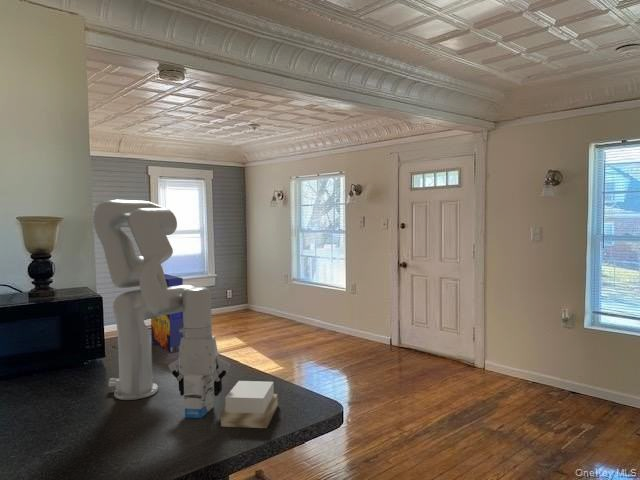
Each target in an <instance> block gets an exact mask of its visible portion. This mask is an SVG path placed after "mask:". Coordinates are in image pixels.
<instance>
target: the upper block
mask: <svg viewBox="0 0 640 480" xmlns="http://www.w3.org/2000/svg"><path fill="white" fill-rule="evenodd" d="M274 386H275V385H274V381H262V380H261V381H260V380H259V381H256V380H254V381H253V380H238V381H237V382H236V384H234V386H233V387H232V388H231V390H229V392H228V394H226V396H225V407H226V412H230V413H258V414H264V412H265V411H266V409H267V407H268V405H269V403H270V402H271V400H272V398H273V396H274V394H275V392H274V389H275V387H274Z"/></svg>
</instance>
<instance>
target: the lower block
mask: <svg viewBox="0 0 640 480" xmlns="http://www.w3.org/2000/svg"><path fill="white" fill-rule="evenodd" d="M278 395H279V394H278V393H274V396H273V398H272V400H271V402H270V403H269V405H268V407H267V409H266V411H265V412H264V414H258V413H230V412H226V406H225V407H224V409H223V410H222V411H221V412H220V427H228V428H255V429H257V428H258V429H267V428H268V426H269V424H270V423H271V420H272V419H273V416H274V414H275V412H276V410H277V409H278V406H279V397H278Z"/></svg>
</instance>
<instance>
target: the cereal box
mask: <svg viewBox="0 0 640 480" xmlns="http://www.w3.org/2000/svg"><path fill="white" fill-rule="evenodd" d="M164 276H165V279H166V283H167V287H171V286H178V285H184V284H183V282H184V279H183V277H180V276H175V275H170V274H166V273H164ZM183 324H184V323H183V312H178V313H173V314H169V315H164V316H160V317H156V318H151V319H150V327H151V328H150V333H151V344H154V345H156V346H157V347H159V348H161V349H162V350H163V351H166V352H168V353H170V354H172V353H177V352H178V353H179V349H180V342H181V338H183V337H184V336H183V334H182V333H179V329H180V328H183V327H184V325H183Z"/></svg>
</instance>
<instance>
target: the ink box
mask: <svg viewBox="0 0 640 480" xmlns="http://www.w3.org/2000/svg"><path fill="white" fill-rule="evenodd" d="M183 396H184V397H183V399H184V402H183V403H184V418H186V419H187V418H188V419H202V418H204V417H205V416H206V414H208V412H210V411H211V410H212V409H213V408H214V406H215V405H214V378H213V377H212V375H210V376H202V375H198V374H185V375H184V395H183Z"/></svg>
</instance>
